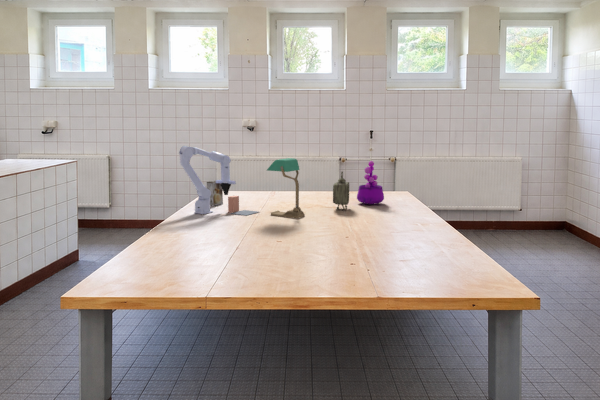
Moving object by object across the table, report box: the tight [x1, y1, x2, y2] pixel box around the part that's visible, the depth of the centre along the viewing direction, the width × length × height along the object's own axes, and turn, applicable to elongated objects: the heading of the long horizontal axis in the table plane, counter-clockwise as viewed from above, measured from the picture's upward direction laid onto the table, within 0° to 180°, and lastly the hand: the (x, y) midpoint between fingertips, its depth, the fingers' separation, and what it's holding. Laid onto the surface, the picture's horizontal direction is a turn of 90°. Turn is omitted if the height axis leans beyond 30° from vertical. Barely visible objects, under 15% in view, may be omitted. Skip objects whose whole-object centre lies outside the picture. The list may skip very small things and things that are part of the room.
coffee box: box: [206, 180, 224, 207], centre depth 389 cm, size 9×6×16 cm
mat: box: [230, 209, 260, 217], centre depth 358 cm, size 14×12×1 cm
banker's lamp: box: [266, 157, 306, 219], centre depth 347 cm, size 16×21×35 cm
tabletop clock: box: [332, 170, 350, 211], centre depth 372 cm, size 14×9×25 cm, turn 168°
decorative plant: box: [356, 160, 385, 205], centre depth 393 cm, size 19×18×30 cm
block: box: [227, 195, 240, 214], centre depth 362 cm, size 6×4×10 cm, turn 150°
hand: (226, 194), depth 364 cm, fingers closed
